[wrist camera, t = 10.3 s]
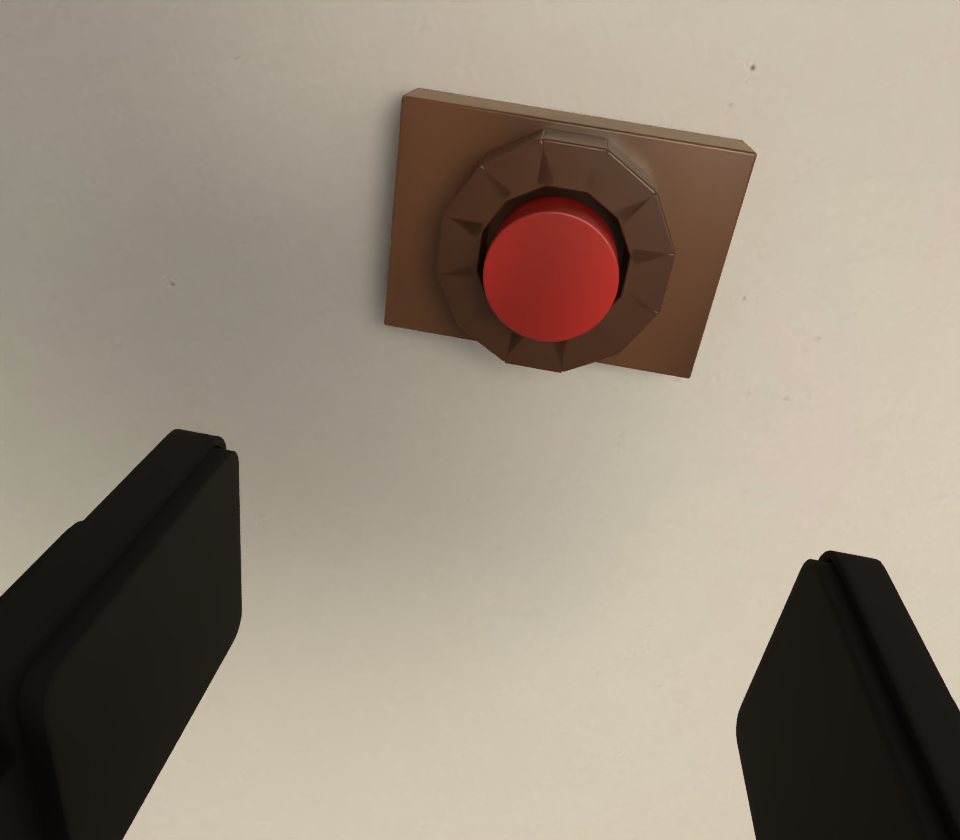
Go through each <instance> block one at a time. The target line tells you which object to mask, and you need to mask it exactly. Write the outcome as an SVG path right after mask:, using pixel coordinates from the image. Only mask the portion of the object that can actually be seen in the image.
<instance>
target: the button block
mask: <svg viewBox="0 0 960 840" xmlns="http://www.w3.org/2000/svg"><path fill="white" fill-rule="evenodd" d="M756 156H757V154H756V152H754V151H753V150H752V149H751V148H750V147H749V146H748V145H747V144H746V143H745V142H744V141H742V140H736V139H730V138H724V137H717V136H711V135H705V134H699V133H693V132H687V131H680V130H674V129H668V128H662V127H656V126H650V125H643V124H637V123H631V122H625V121H619V120H613V119H606V118H600V117H594V116H588V115H582V114H576V113H569V112H563V111H557V110H551V109H545V108H539V107H532V106H526V105H520V104H514V103H508V102H502V101H495V100H489V99H483V98H477V97H471V96H465V95H459V94H452V93H446V92H440V91H434V90H428V89H422V88H418V89H416V90H414V91H412V92H410V93H408V94H406V95H404V96H403V97H402V105H401V117H400V130H399V142H398V155H397V167H396V180H395V193H394V205H393V218H392V230H391V243H390V255H389V268H388V280H387V293H386V306H385V318H384V323H385V325H389V326H395V327H401V328H406V329H412V330H418V331H423V332H429V333H435V334H440V335H446V336H451V337H457V338H463V339H468V340H474V341H478V342H479V343H480V344H482V345H483V346H484V347H486V348H487V349H488V350H490V351H491V352H492V353H493V354H495V355H496V356H497V357H499V358H500V359H501V360H502V361H505V363H508V364H514V365H520V366H525V367H531V368H536V369H542V370H548V371H553V372H559V373H561V372H564V371H568V370H571V369H574V368H577V367H580V366H584V365H587V364H590V363H593V362H598V363H604V364H610V365H615V366H621V367H627V368H632V369H638V370H644V371H649V372H655V373H660V374H666V375H672V376H677V377H683V378H690V376H691V373H692V370H693V366H694V363H695V360H696V356H697V353H698V350H699V346H700V343H701V340H702V336H703V333H704V330H705V326H706V323H707V320H708V316H709V313H710V310H711V306H712V303H713V300H714V296H715V293H716V290H717V286H718V283H719V280H720V276H721V273H722V270H723V266H724V263H725V260H726V256H727V253H728V250H729V246H730V243H731V240H732V236H733V233H734V230H735V226H736V223H737V220H738V216H739V213H740V210H741V206H742V203H743V200H744V196H745V193H746V190H747V186H748V183H749V179H750V176H751V173H752V169H753V166H754V163H755V159H756ZM547 196H559V197H567V198H571V199H574V200H577V201H580V202H582V203H584V204H586V205H587V206H589V207H591V208H592V209H593V210H595V211H596V212H597V213H598V214H599V215H600V216H601V217H602V218H603V219H604V221H605V222H606V223H607V225H608V226H609V228H610V230H611V232H612V234H613V237H614V239H615V243H616V247H617V256H618V266H619V285H618V291H617V294H616V297H615V300H614V302H613V304H612V306H611V308H610V310H609V311H608V313H607V314H606V315H605V317H604V318H603V319H602V320H601V321H600V322H599V323H598V324H597V325H596V326H595V327H593V328H592V329H590V330H589V331H588V332H586V333H584V334H582V335H580V336H577V337H575V338H572V339H568V340H564V341H557V342H545V341H537V340H533V339H529V338H527V337H524V336H522V335H520V334H518V333H516V332H514V331H513V330H511V329H510V328H508V327H507V326H506V325H505V324H504V323H503V322H502V321H501V320H500V319H499V318H498V317H497V316H496V314H495V313H494V311H493V310H492V308H491V306H490V304H489V302H488V300H487V297H486V294H485V291H484V286H483V266H484V262H485V258H486V255H487V252H488V249H489V247H490V245H491V242H492V240H493V238H494V235H495V233H496V231H497V229H498V227H499V226H500V224H501V223H502V222H503V220H504V219H505V218H506V217H507V216H508V215H509V214H510V213H511V212H512V211H513V210H515V209H516V208H517V207H519V206H521V205H522V204H524V203H526V202H528V201H531V200H534V199H537V198H541V197H547Z"/></svg>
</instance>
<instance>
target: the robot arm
mask: <svg viewBox="0 0 960 840" xmlns="http://www.w3.org/2000/svg"><path fill="white" fill-rule="evenodd" d="M241 616H242V594H241V546H240V499H239V461H238V456H237V453H236V452H234V451H230V450H226V444H225V442H224V439H222V438H221V437H219V436H213V435H208V434H202V433H197V432H192V431H186V430H181V429H175V430H173V431H171V432H170V433H169V434H168V435H167V436H166V437H165V438H164V439H163V440H162V441H161V442H160V443H159V444H158V445H157V446H156V447H155V448H154V449H153V450H152V451H151V452H150V453H149V454H148V455H147V456H146V457H145V458H144V459H143V460H142V461H141V462H140V463H139V464H138V465H137V466H136V467H135V468H134V469H133V470H132V471H131V472H130V474H129V475H128V476H127V477H126V478H125V479H124V480H123V481H122V482H121V483H120V484H119V485H118V486H117V487H116V488H115V489H114V490H113V491H112V492H111V493H110V494H109V495H108V496H107V497H106V498H105V499H104V500H103V501H102V502H101V503H100V504H99V505H98V506H97V507H96V508H95V509H94V510H93V511H92V512H91V513H90V514H89V515H88V516H87V517H86V518H85V519H84V520H83V521H79V522H77V523H75V524H74V525H73V526H71V527H70V528H69V529H67V530H66V531H65V532H64V533H63V534H62V535H61V536H60V537H59V538H58V539H57V540H56V541H55V542H54V543H53V544H52V545H51V546H50V547H49V548H48V549H47V550H46V551H45V552H44V553H43V554H42V555H41V556H40V557H39V558H38V559H37V560H36V561H35V562H34V563H33V564H32V565H31V567H30V568H29V569H28V570H27V571H26V572H25V573H24V574H23V575H22V576H21V577H20V578H19V579H18V580H17V581H16V582H15V583H14V584H13V585H12V586H11V587H10V588H9V589H8V590H7V591H6V592H5V593H4V594H3V595H2V596H1V597H0V840H122V839H123V838H124V836H125V834H126V832H127V831H128V829H129V827H130V825H131V823H132V822H133V820H134V818H135V816H136V814H137V813H138V811H139V809H140V807H141V806H142V804H143V802H144V800H145V798H146V797H147V795H148V793H149V791H150V790H151V788H152V786H153V784H154V782H155V781H156V779H157V777H158V775H159V773H160V772H161V770H162V768H163V766H164V765H165V763H166V761H167V759H168V757H169V756H170V754H171V752H172V750H173V749H174V747H175V745H176V743H177V741H178V740H179V738H180V736H181V734H182V732H183V731H184V729H185V727H186V725H187V724H188V722H189V720H190V718H191V716H192V715H193V713H194V711H195V709H196V707H197V706H198V704H199V702H200V700H201V699H202V697H203V695H204V693H205V691H206V690H207V688H208V686H209V684H210V683H211V681H212V679H213V677H214V675H215V674H216V672H217V670H218V668H219V666H220V665H221V663H222V661H223V659H224V658H225V656H226V654H227V652H228V650H229V649H230V647H231V645H232V643H233V641H234V639H235V637H236V635H237V632H238V629H239V625H240V621H241ZM736 737H737V744H738V749H739V754H740V760H741V765H742V770H743V775H744V780H745V785H746V790H747V795H748V800H749V806H750V811H751V816H752V821H753V826H754V831H755V836H756V840H960V711H959V709H958V707H957V705H956V703H955V701H954V700H953V698H952V697H951V695H950V693H949V691H948V689H947V687H946V685H945V683H944V681H943V679H942V677H941V675H940V673H939V671H938V669H937V668H936V666H935V664H934V662H933V660H932V658H931V656H930V654H929V652H928V650H927V648H926V646H925V644H924V642H923V640H922V639H921V637H920V635H919V633H918V631H917V629H916V627H915V625H914V623H913V621H912V619H911V617H910V615H909V613H908V611H907V609H906V608H905V606H904V604H903V602H902V600H901V598H900V596H899V594H898V592H897V590H896V588H895V586H894V584H893V582H892V580H891V579H890V577H889V575H888V573H887V571H886V569H885V567H884V566H883V564H882V563H881V562H880V561H879V560H877V559H873V558H868V557H863V556H857V555H852V554H847V553H841V552H836V551H831V550H830V551H826V552H824V553H823V554H822V555H821V556H820V558H819V560H813V559H809V560H807V561H806V562H805V563H804V564H803V566H802V568H801V570H800V572H799V575H798V577H797V579H796V581H795V584H794V586H793V588H792V591H791V593H790V595H789V597H788V600H787V602H786V604H785V607H784V609H783V611H782V613H781V616H780V618H779V620H778V622H777V625H776V627H775V629H774V632H773V634H772V636H771V638H770V641H769V643H768V645H767V648H766V650H765V652H764V654H763V657H762V659H761V661H760V664H759V666H758V668H757V670H756V673H755V675H754V677H753V679H752V682H751V684H750V686H749V689H748V691H747V693H746V695H745V698H744V700H743V702H742V705H741V707H740V710H739V713H738V717H737V724H736Z"/></svg>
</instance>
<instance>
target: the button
mask: <svg viewBox="0 0 960 840" xmlns="http://www.w3.org/2000/svg"><path fill="white" fill-rule="evenodd" d="M618 285H619V266H618V256H617V247H616V243H615V239H614V237H613V234H612V232H611V230H610V228H609V226H608V225H607V223H606V222H605V221H604V219H603V218H602V217H601V216H600V215H599V214H598V213H597V212H596V211H595V210H593V209H592V208H591V207H589V206H587V205H586V204H584V203H582V202H580V201H577V200H574V199H571V198H567V197H559V196H547V197H541V198H537V199H534V200H531V201H528V202H526V203H524V204H522V205H521V206H519V207H517V208H516V209H515V210H513V211H512V212H511V213H510V214H509V215H508V216H507V217H506V218H505V219H504V220H503V222H502V223H501V224H500V226H499V227H498V229H497V231H496V233H495V235H494V238H493V240H492V242H491V245H490V247H489V249H488V252H487V255H486V258H485V262H484V266H483V286H484V291H485V294H486V297H487V300H488V302H489V304H490V306H491V308H492V310H493V311H494V313H495V314H496V316H497V317H498V318H499V319H500V320H501V321H502V322H503V323H504V324H505V325H506V326H507V327H508V328H510V329H511V330H513V331H514V332H516V333H518V334H520V335H522V336H524V337H527V338H529V339H533V340H537V341H545V342H557V341H564V340H568V339H572V338H575V337H577V336H580V335H582V334H584V333H586V332H588V331H589V330H590V329H592V328H593V327H595V326H596V325H597V324H598V323H599V322H600V321H601V320H602V319H603V318H604V317H605V315H606V314H607V313H608V311H609V310H610V308H611V306H612V304H613V302H614V300H615V297H616V294H617V291H618Z"/></svg>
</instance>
